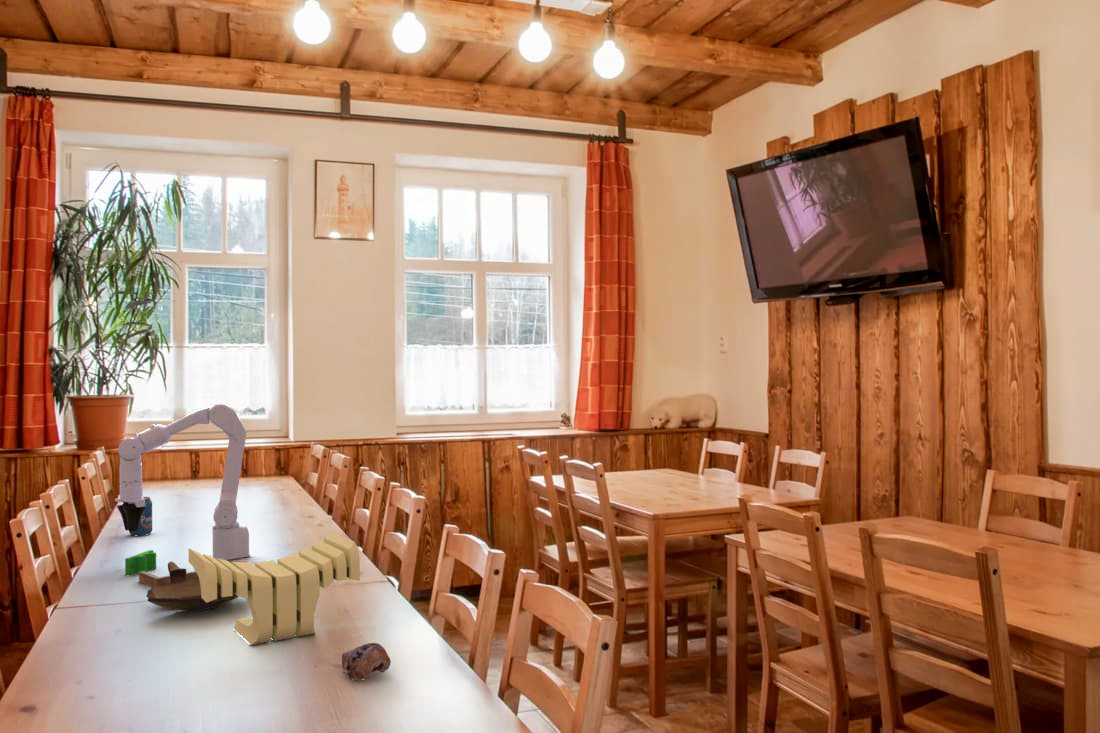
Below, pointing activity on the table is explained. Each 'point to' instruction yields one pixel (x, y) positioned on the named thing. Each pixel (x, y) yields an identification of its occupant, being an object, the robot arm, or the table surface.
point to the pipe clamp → (140, 562)
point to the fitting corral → (162, 578)
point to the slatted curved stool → (279, 586)
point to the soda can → (145, 519)
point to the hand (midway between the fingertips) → (131, 530)
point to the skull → (365, 661)
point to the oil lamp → (183, 593)
